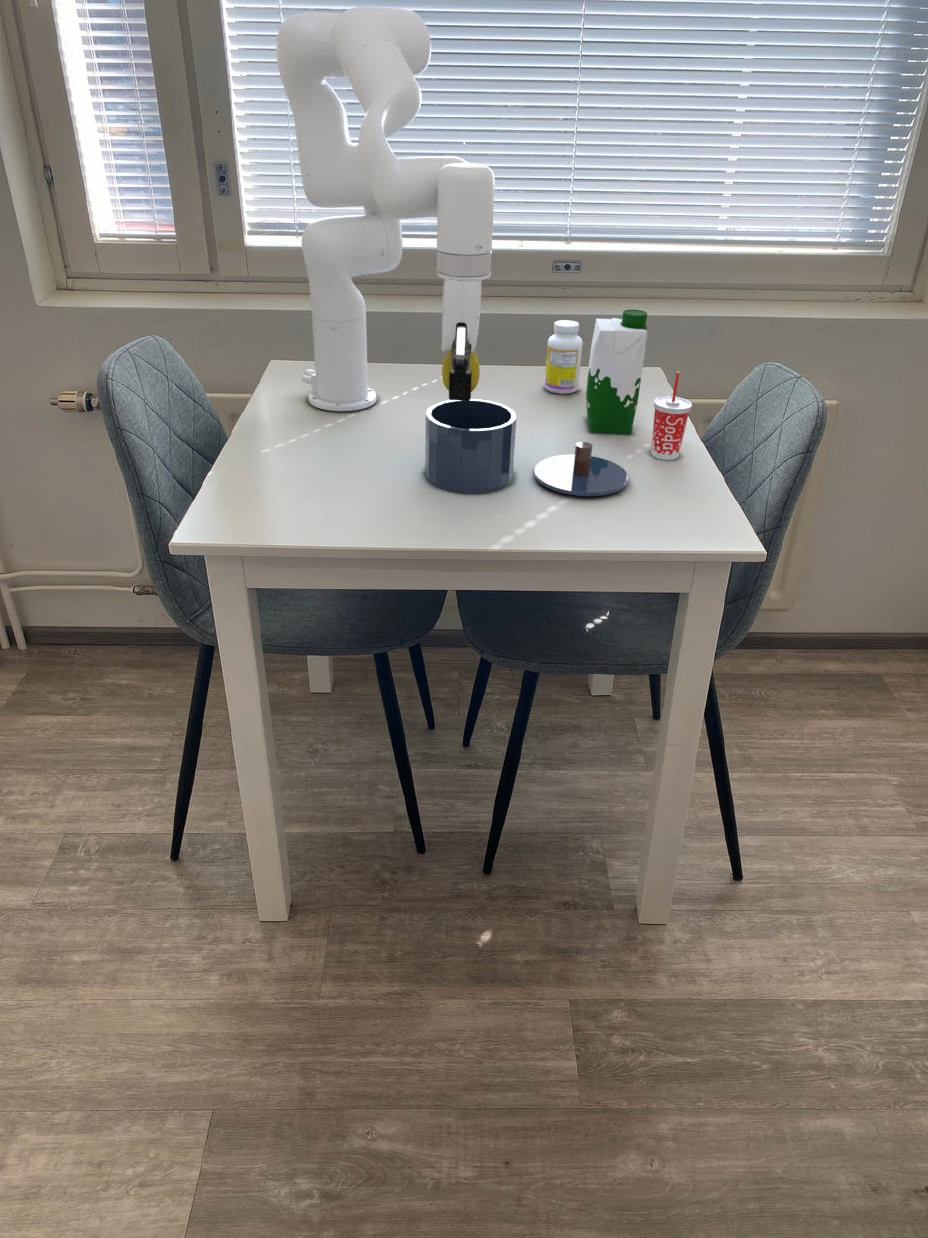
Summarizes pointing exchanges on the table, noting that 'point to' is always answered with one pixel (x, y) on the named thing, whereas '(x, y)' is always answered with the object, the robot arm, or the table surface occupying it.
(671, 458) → the beverage cup
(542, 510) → the table surface
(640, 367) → the milk carton
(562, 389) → the supplement bottle
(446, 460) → the crock
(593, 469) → the crock lid
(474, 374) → the lemon
